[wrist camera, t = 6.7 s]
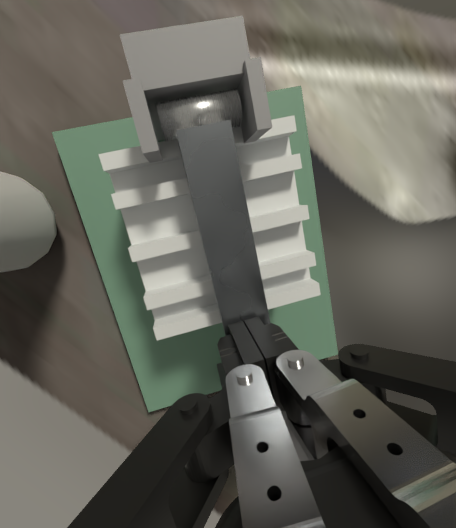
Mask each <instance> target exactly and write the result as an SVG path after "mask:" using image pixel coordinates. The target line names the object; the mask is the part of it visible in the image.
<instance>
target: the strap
mask: <svg viewBox="0 0 456 528" xmlns="http://www.w3.org/2000/svg"><path fill="white" fill-rule="evenodd" d="M156 107H157V111H158V115H159V119H160V123H161V127H162V131H163V135H164V139H165V142H167V141H172V140H177V142H178V146H179V150H180V154H181V158H182V162H183V166H184V170H185V174H186V178H187V183H188V187H189V191H190V195H191V199H192V203H193V207H194V211H195V215H196V219H197V223H198V227H199V232H200V236H201V240H202V244H203V248H204V252H205V256H206V260H207V264H208V268H209V272H210V276H211V280H212V285H213V289H214V293H215V297H216V301H217V305H218V309H219V313H220V317H221V321H222V325H223V329H224V334H225V336H228V335H230V333H229V329H228V325H229V324H232V323H236V322H239V321H243V320H246V319H250V318H253V317H257V316H258V317H259V318H260V319H261V321H262V322H263V324H264V325H266V324H269V323H270V318H269V313H268V308H267V303H266V298H265V293H264V288H263V283H262V278H261V273H260V267H259V262H258V257H257V252H256V247H255V242H254V237H253V232H252V227H251V222H250V217H249V212H248V207H247V202H246V197H245V192H244V187H243V181H242V176H241V171H240V166H239V161H238V156H237V151H236V146H235V141H234V136H233V131H232V128H237V127H241V125H242V106H241V100H240V96H239V93H238V91H237V89H236V88H234V89H229V90H224V91H218V92H213V93H207V94H202V95H196V96H191V97H185V98H180V99H174V100H169V101H163V102H158V103H156Z"/></svg>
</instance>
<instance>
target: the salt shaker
mask: <svg viewBox="0 0 456 528" xmlns="http://www.w3.org/2000/svg"><path fill="white" fill-rule="evenodd" d="M56 235H57V228H56V221H55V213H54V211H53V210H52V208H51V206H50V204H49V203H48V201H47V199H46V197H45V195H44V194H43V193H42V192H40V191H39V190H38V189H36V188H35V187H34V186H32V185H31V184H30V183H28V182H27V181H25V180H24V179H22V178H20V177H17V176H14V175H11V174H7V173H4V172H0V272H7V271H12V270H18V269H23V268H28V267H29V266H31V265H32V264H33V263H35V262H36V261H37V260H39V259H40V258H41V257H43V256H44V255H46V254H47V253H48V252H49V250H50V248H51V245H52V243H53V241H54V239H55V237H56Z"/></svg>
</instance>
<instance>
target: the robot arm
mask: <svg viewBox="0 0 456 528" xmlns="http://www.w3.org/2000/svg"><path fill="white" fill-rule="evenodd" d="M228 329H229V333H230V335H228V336H225V337H221V338H220V339H219V341H218V344H217V346H218V350H219V354H220V358H221V361H222V365H223V369H224V373H225V377H226V383H225V385H224V387H223V388H222V390H221V391H220V392H218V393H217V394H216V395H214V396H213V397H211V398H208V397H207V396H206V395H204V394H201V393H192V394H188V395H185V396H183V397H181V398H180V399H178V400H177V401H176V402H175V403H174V404H173V405H172V406H171V407H170V408H169V409H168V411H167V412H166V413H165V414H164V415H163V416H162V418H161V419H160V420H159V421H158V422H157V423H156V425H155V426H154V427H153V428H152V429H151V430H150V432H149V433H148V434H147V435H146V436H145V437H144V439H143V440H142V441H141V442H140V443H139V444H138V446H137V447H136V448H135V449H134V450H133V451H132V453H131V454H130V455H129V456H128V457H127V459H126V460H125V461H124V462H123V463H122V464H121V465H120V467H119V468H118V469H117V470H116V471H115V472H114V474H113V475H112V476H111V477H110V478H109V479H108V481H107V482H106V483H105V484H104V485H103V487H102V488H101V489H100V490H99V491H98V492H97V494H96V495H95V496H94V497H93V498H92V499H91V501H90V502H89V503H88V504H87V505H86V506H85V508H84V509H83V510H82V511H81V512H80V513H79V515H78V516H77V517H76V518H75V519H74V520H73V522H72V523H71V524H70V525H69V526H68V528H204V526H205V524H206V522H207V519H208V518H209V516H210V513H211V511H212V509H213V507H214V505H215V503H216V501H217V499H218V497H219V495H220V493H221V491H222V489H223V487H224V485H225V482H226V480H227V478H228V471H229V470H228V468H230V467H231V466H232V465H234V464H235V472H236V480H237V487H238V495H239V496H238V497H237V498H236V499H235V500H234V501H233V502H232V503H231V504H230V505H229V506H228V508H227V509H226V510H225V512H224V513H223V515H222V516H221V518H220V520H219V522H218V523H217V525H216V527H215V528H456V362H454V361H448V360H443V359H438V358H433V357H427V356H422V355H417V354H412V353H406V352H401V351H396V350H391V349H385V348H380V347H375V346H370V345H364V344H352V345H348V346H345V347H343V348H342V349H341V350H340V351H339V353H338V356H339V359H336V360H318V359H316V358H315V357H314V356H313V355H312V354H311V353H309V352H307V351H304V350H299V349H298V348H297V347H296V345H295V344H294V343H293V342H292V341H291V339H290V338H289V337H288V336H287V335H286V333H284V331H283V330H282V329H281V327H280V326H278V325H275V324H273V323H269V324H266V325H264V324H263V322H262V321H261V319H260V318H259V317H258V316H257V317H253V318H250V319H246V320H243V321H239V322H236V323H232V324H229V325H228ZM386 389H389V390H393V391H396V392H399V393H403V394H407V395H410V396H414V397H418V398H421V399H424V400H426V401H427V402H429V403H430V404H431V405H433V407H434V408H435V410H436V413H437V415H430V414H427V413H424V412H421V411H417V410H414V409H411V408H407V407H404V406H401V405H398V404H394V403H391V402H388V401H387V399H386ZM283 410H285V412H286V414H287V418H288V423H289V427H290V429H291V431H292V433H293V434H294V436H295V437H296V439H297V441H298V442H299V444H300V446H301V447H302V449H303V451H304V452H305V454H306V456H307V457H308V459H309V460H308V461H300V460H299V457H298V455H297V452H296V450H295V447H294V444H293V442H292V439H291V437H290V434H289V431H288V429H287V426H286V424H285V421H284V418H283V416H282V413H281V411H283Z"/></svg>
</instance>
